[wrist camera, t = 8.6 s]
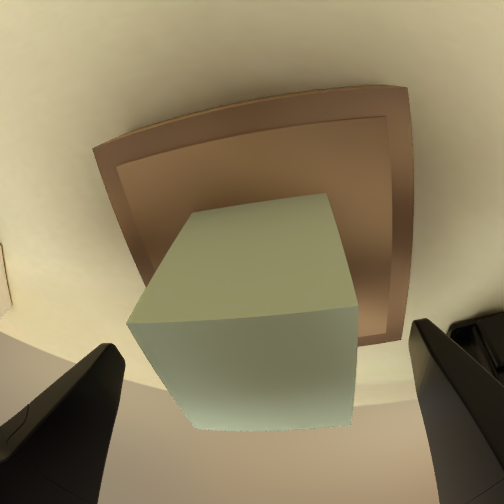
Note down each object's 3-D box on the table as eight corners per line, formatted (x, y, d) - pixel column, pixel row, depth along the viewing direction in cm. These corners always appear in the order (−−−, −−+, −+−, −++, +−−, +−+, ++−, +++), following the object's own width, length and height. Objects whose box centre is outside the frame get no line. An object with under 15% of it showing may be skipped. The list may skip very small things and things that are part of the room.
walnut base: (388, 303, 17) (402, 343, 14) (193, 323, 19) (180, 361, 17) (382, 84, 11) (410, 87, 8) (125, 133, 13) (89, 150, 11)
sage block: (335, 301, 13) (351, 424, 8) (224, 312, 14) (195, 429, 9) (326, 192, 11) (358, 305, 6) (192, 212, 12) (126, 323, 7)
